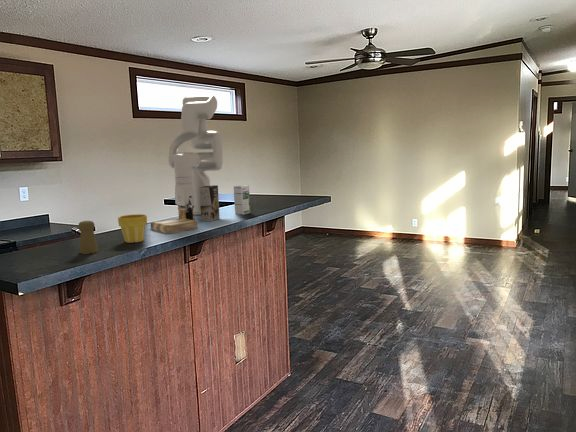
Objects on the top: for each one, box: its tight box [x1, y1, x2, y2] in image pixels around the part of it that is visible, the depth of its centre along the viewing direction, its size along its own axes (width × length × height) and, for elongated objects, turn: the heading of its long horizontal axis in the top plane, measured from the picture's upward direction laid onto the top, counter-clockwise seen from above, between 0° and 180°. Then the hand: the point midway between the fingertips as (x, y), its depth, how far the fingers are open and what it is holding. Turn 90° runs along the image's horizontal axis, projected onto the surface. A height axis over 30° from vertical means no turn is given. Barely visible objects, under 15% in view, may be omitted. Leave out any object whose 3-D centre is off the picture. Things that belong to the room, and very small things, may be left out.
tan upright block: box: [177, 207, 195, 221], centre depth 221 cm, size 5×5×7 cm
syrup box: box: [233, 184, 251, 215], centre depth 244 cm, size 6×6×14 cm
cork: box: [77, 220, 99, 255], centre depth 166 cm, size 6×6×11 cm
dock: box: [150, 217, 199, 234], centre depth 207 cm, size 16×14×3 cm
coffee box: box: [199, 185, 221, 222], centre depth 228 cm, size 9×6×16 cm
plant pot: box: [117, 213, 148, 244], centre depth 183 cm, size 10×10×10 cm
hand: (186, 219), depth 221 cm, fingers closed on tan upright block, 5 cm apart
